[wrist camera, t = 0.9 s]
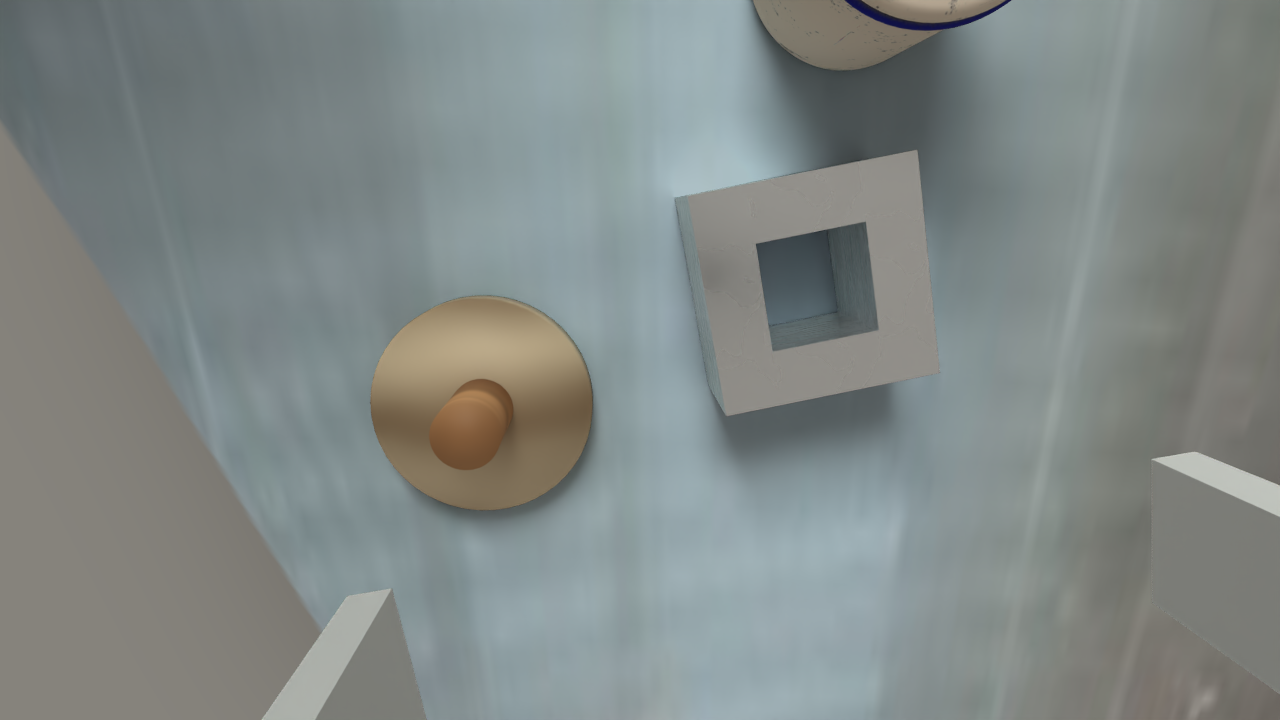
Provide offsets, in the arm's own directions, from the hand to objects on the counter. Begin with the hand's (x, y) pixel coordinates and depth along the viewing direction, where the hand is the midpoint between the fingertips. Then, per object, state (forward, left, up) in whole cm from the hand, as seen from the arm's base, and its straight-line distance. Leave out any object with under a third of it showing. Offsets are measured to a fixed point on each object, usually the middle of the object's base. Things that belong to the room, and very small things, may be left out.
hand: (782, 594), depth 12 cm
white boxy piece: (-2, +6, -21) cm, 22 cm away
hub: (+1, -9, -21) cm, 23 cm away
